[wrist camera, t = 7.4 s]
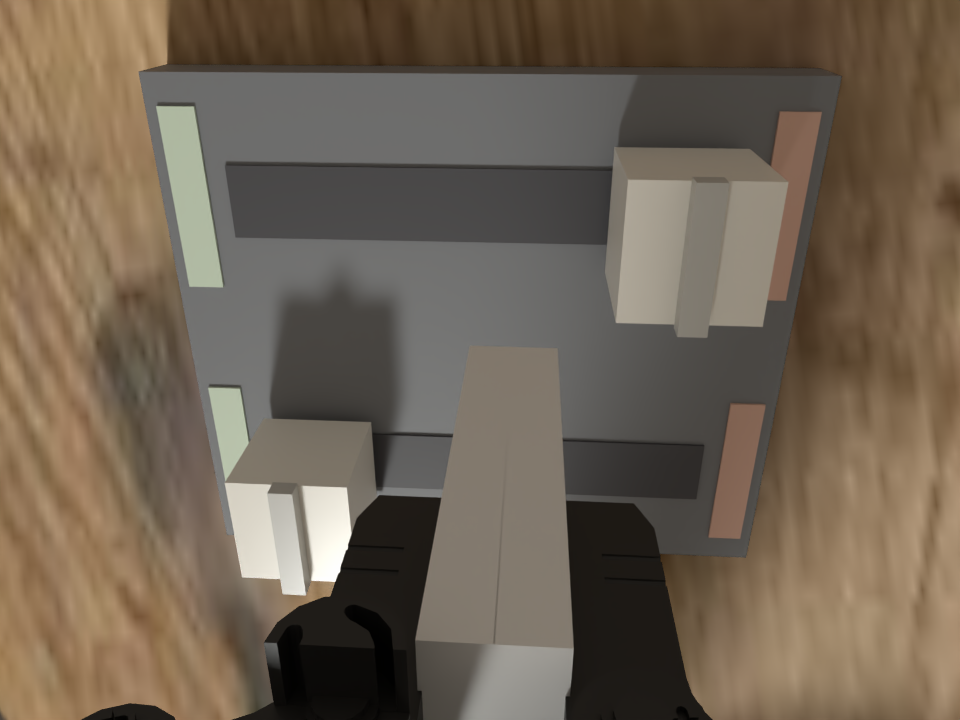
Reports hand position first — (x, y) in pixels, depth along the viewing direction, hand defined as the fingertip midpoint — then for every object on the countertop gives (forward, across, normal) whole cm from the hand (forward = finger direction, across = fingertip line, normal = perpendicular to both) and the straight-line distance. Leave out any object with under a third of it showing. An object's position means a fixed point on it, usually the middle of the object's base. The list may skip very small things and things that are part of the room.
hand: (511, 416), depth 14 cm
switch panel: (+15, +1, +5) cm, 15 cm away
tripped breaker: (+12, -5, 0) cm, 13 cm away
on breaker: (+12, +7, +10) cm, 17 cm away
